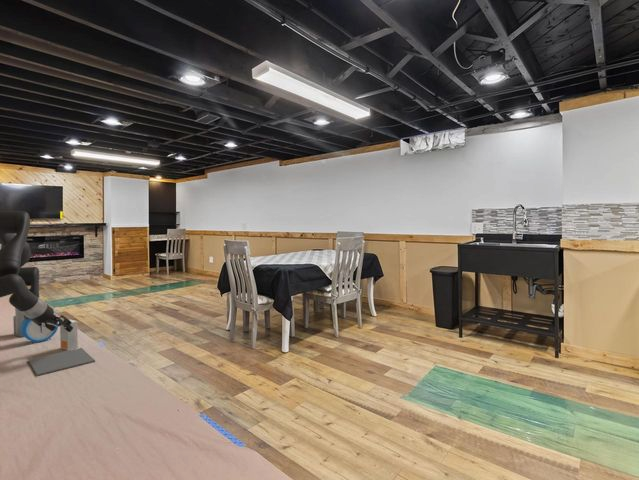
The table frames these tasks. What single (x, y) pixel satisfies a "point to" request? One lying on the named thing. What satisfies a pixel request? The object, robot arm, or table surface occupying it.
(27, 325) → the alarm clock
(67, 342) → the skincare box
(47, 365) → the rubber mat
